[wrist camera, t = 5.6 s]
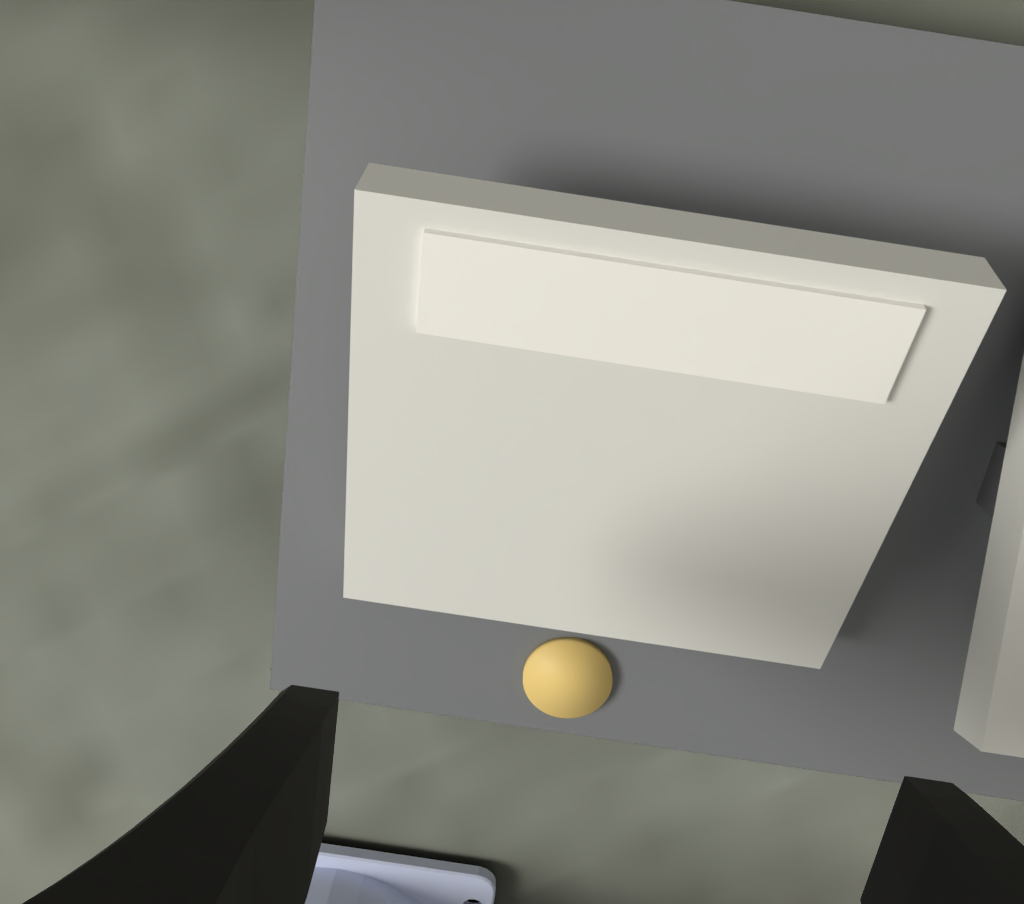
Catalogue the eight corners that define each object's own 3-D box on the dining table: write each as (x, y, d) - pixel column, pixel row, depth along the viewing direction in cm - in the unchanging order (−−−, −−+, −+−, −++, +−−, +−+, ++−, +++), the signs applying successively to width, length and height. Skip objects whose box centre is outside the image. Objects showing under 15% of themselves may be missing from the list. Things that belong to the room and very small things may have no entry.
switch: (811, 629, 19) (821, 675, 18) (354, 560, 19) (340, 603, 18) (984, 257, 14) (1009, 295, 13) (369, 162, 14) (352, 193, 13)
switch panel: (1276, 772, 23) (1386, 876, 20) (299, 626, 22) (260, 709, 19) (1602, 151, 18) (1817, 165, 15) (351, -44, 17) (308, -71, 14)
